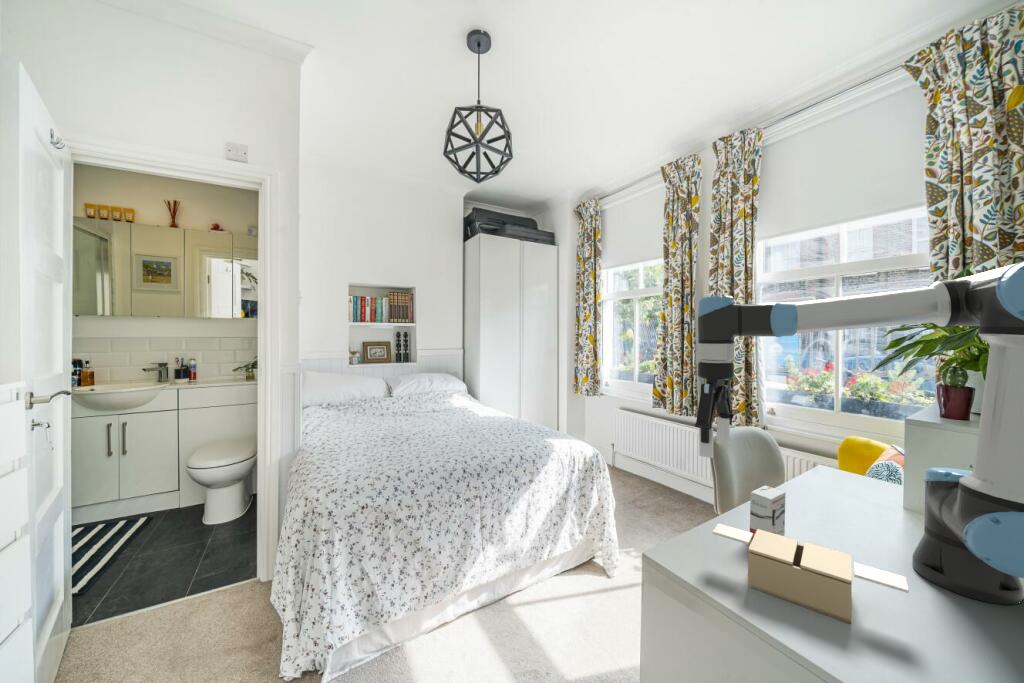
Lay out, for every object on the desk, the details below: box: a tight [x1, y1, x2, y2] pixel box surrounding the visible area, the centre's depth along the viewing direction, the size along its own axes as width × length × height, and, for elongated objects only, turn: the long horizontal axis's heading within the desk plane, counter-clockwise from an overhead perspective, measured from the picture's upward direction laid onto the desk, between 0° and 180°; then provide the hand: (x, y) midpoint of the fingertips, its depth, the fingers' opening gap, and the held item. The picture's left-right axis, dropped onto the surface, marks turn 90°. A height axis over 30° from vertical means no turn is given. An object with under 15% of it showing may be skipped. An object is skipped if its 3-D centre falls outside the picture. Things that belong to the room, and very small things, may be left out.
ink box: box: [749, 485, 786, 540], centre depth 99 cm, size 8×5×12 cm, turn 123°
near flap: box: [800, 542, 910, 594], centre depth 74 cm, size 15×11×1 cm
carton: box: [747, 543, 853, 625], centre depth 79 cm, size 16×11×7 cm
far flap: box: [712, 523, 799, 565], centre depth 84 cm, size 15×11×1 cm
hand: (715, 450), depth 93 cm, fingers open, 13 cm apart
